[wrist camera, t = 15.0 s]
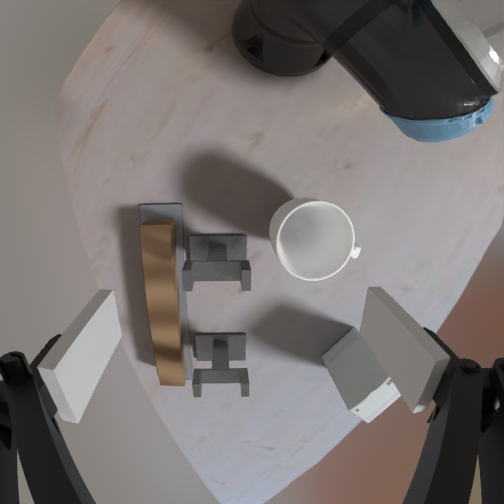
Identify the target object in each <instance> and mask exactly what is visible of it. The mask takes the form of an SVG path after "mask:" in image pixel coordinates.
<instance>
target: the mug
mask: <svg viewBox="0 0 504 504" xmlns="http://www.w3.org/2000/svg"><path fill="white" fill-rule="evenodd" d="M269 237H270V242H271V245H272V247H273V249H274V251H275V253H276V255H277V257H278V258H279V260H280V262H281V263H282V265H283V266H284V268H285V269H286V270H287V271H288V272H289V273H291V274H292V275H294V276H295V277H297V278H300V279H303V280H308V281H317V280H322V279H326V278H328V277H330V276H332V275H334V274H335V273H337V272H338V271H339V270H340V269H342V268H343V266H344V265H345V264H346V263H347V261H348V260H349V258H350V257H351V258H357V257H358V255H359V253H360V250H361V247H360V246H359V245H357V244H355V243H354V239H355V237H354V229H353V225H352V223H351V221H350V219H349V217H348V216H347V214H346V213H345V212H344V211H343V210H342V209H341V208H339V207H338V206H336V205H335V204H332V203H330V202H326V201H322V200H317V199H313V198H296V199H293V200H290V201H288V202H286V203H284V204H283V205H282V206H280V207H279V208H278V209H277V211H276V212H275V213H274V215H273V217H272V219H271V222H270V226H269Z"/></svg>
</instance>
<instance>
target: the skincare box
mask: <svg viewBox="0 0 504 504" xmlns="http://www.w3.org/2000/svg"><path fill="white" fill-rule="evenodd" d="M321 358H322V360H323V362H324V364H325V365H326V367H327V369H328V371H329V373H330V375H331V377H332V379H333V381H334V383H335V385H336V387H337V389H338V391H339V392H340V394H341V396H342V398H343V400H344V402H345V404H346V406H347V408H348V411H350V412H351V413H353V414H354V415H356V416H358V417H359V418H361V419H363V420H364V421H366V422H367V423H369V422H370V421H371V420H373V419H374V418H375V417H376V416H378V415H379V414H380V413H381V412H382V411H384V410H385V409H386V408H387V407H388V406H389V405H391V404H392V403H393V402H394V401H395V400H396V399H397V398H398V397H400V396H401V394H400V392H399V391H398V389H397V388H396V386H395V385H394V383H393V382H392V380H391V378H390V377H389V375H388V374H387V372H386V371H385V369H384V368H383V366H382V365H381V363H380V362H379V360H378V359H377V357H376V356H375V354H374V353H373V351H372V350H371V348H370V347H369V345H368V344H367V342H366V341H365V339H364V338H363V336H362V335H361V333H360V332H359V331H358V330H357V329H356V328H355V327H354V328H352V329H351V330H350V331H349V332H348V333H347V334H346V335H345V336H344V337H343V338H342V339H341V340H340V341H339V342H337V343H336V344H335V345H334V346H333V347H332V348H331V349H330V350H329V351H328V352H326V353H325V354H324V355H323V356H322V357H321Z"/></svg>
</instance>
